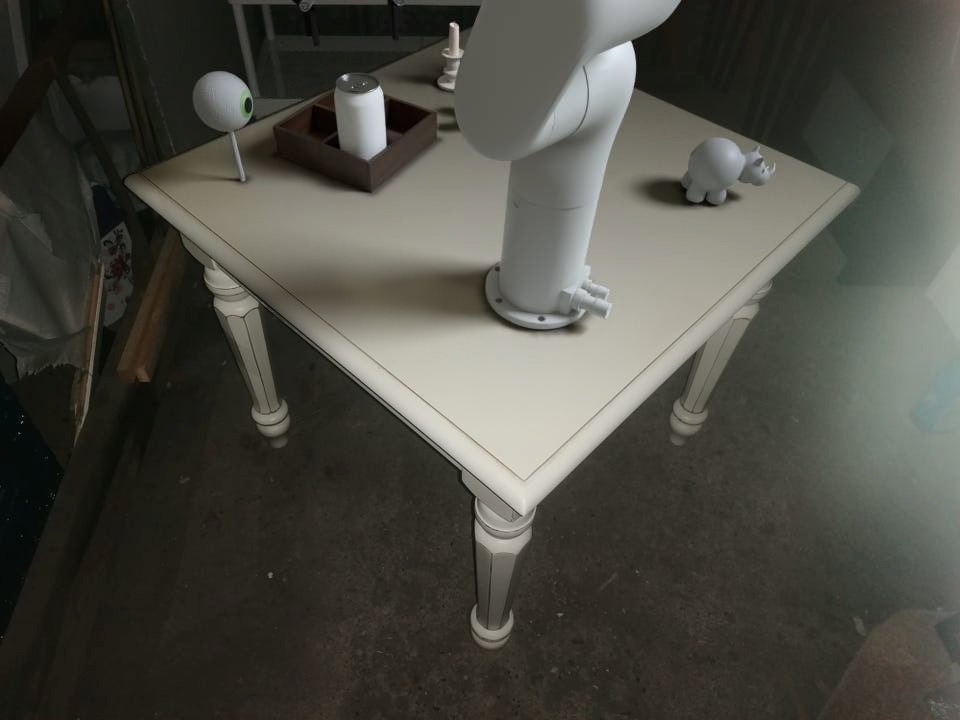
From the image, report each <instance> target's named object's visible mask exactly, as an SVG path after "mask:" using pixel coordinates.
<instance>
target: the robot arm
mask: <svg viewBox="0 0 960 720" xmlns="http://www.w3.org/2000/svg"><path fill="white" fill-rule="evenodd" d="M291 1H292V2H293V3H294V4H295V5H296V6H298V7H299V9H300V10H301V11H302V12H301V13H302V17H303V18H302V19H303V25H304V31H305V37H311V39H312V43H313V47H319V45H321V43H320V36H319V29H318V22H317V20H318V19H317V13H316V10H315V6H314V3H315V1H316V0H291ZM681 1H682V0H482V1H481V4H480V7H479V10H478V13H477V16H476V18H475V21H474V24H473V26H472V28H471V31H470V34H469V37H468V38H467V42H466V44H465V47H464V49H463V51H464V52H463V55H462V57H461V58H460V60H459V61H460V64H459V67H458V71H457V75H456V79H455V86H454V91H453V107H454V108H453V109H454V114H455V119H456V122H457V126H458V128H459V131H460V133H461V135H462V137H463V138H464V140H465V142H466V143H467V144H468V145H469V147H470V148H472V150H474V151H475V152H476V153H477V154H479V155H480V156H482V157H484V158H486V159H489V160H493V161H497V162H510V165H509V174H508V175H509V176H508V181H507V193H506V203H505V214H504V224H503V235H502V245H501V255H500V260H499V261H498V262H497V263H496V264H494V265H493V266H492V268H491V269H489V272H488V274H487V275H486V278H485V279H486V280H485V296H486V299H487V302H488V303H489V305H490V307H491V308H492V309H493V310H494V311H495V312H496V313H497V314H498V315H499V316H501V317H502V318H503V319H505V320H506V321H508V322H511V323H512V324H515V325H517V326H520V327H524V328H528V329H533V330H552V329H553V330H554V329H559V328H563V327H566V326H568V325H570V324H572V323H574V322H576V321H577V320H579V319H580V318H581V317H582V316H583V315H584V314H585V313H586V311H587V312H588V313H590V314H591V315H594V316H596V317H598V318H601V319H603V320H606V319H607V318H608V317H609V315H610V312H611V310H612V307H613V303H611V302H609V301H607V299H608V297H609V294H610V291H611V290H610V289H609V288H607V287H605V286H602V285H598V284H596V283H593V279H590V274H591V269H592V267H591V266H590V265H587V264H585V263H586V259H587V258H586V257H587V253H588V249H589V245H590V239H591V236H592V231H593V225H594V221H595V218H596V217H595V216H596V212H597V208H598V203H599V197H600V195H601V194H600V193H601V190H602V187H603V182H604V177H605V174H606V169H607V165H608V162H609V157H610V154H611V150H612V148H613V144H614V141H615V139H616V136H617V134H618V131H619V128H620V127H621V124H622V122H623V119H624V117H625V115H626V112H627V110H628V106H629V104H630V101H631V98H632V96H633V92H634V88H635V87H634V86H635V82H636V77H637V76H636V74H637V58H636V53H635V49H634V46H633V45H634V44H633V43H632V41H633V40H635V39H637V38H640V37H642V36H645V35H646V34H648V33H650V32H651V31H653V30H655V29H656V28H658V27H659V26H660V25H662V24H663V23H665V21H666V20H667V19H669V17H670V16H671V15H672V14H673V13H674V11H675V10H676V9H677V7H678V6H679V4H680V3H681ZM386 3H387V19H388V32H389V34H390V36H391V39H392V40H394V42H395V41H400V33H399V31H403V30H404V22H403V21H404V20H403V19H404V18H403V6H404V5H405V3H406V0H387V1H386Z"/></svg>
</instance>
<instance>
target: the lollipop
mask: <svg viewBox="0 0 960 720" xmlns="http://www.w3.org/2000/svg"><path fill="white" fill-rule="evenodd" d="M192 103H193V108H194V110H195V112H196V114H197V116H198V117H199V119H200V120H201V121H202V122H203V123H204V124H205V125H207V126H208V127H210V128H211V129H212V130H213V129H214V130H216V131H218V132H225V133H226V132H227V133H228V137H229V141H230V145H231V149H232V153H233V157H234V161H235V165H236V169H237V172H238V177H239V181H240V182H245V181H246V177H245V173H244V167H243V164H242V160H241V156H240V152H239V148H238V144H237V139H236V136H235V133H234V131H238V130H239V129H242V128H243V127H244V126H246V124H247V123H248V122H249V121H250V119H251V118H252V115H253V111H254V101H253V96H252V93H251V90H250V89H249V87H248V86H247V85H246V83H245V82H244V81H243V80H242V79H241V78H239V77H238V76H237V75H235V74H233V73H231V72H228V71H224V70H223V71H221V70H217V71H216V70H215V71H211V72H208V73H205V74H204V75H203V76H202V77H200V78H199V79H198V80H197V81H196V83H195V85H194V88H193V91H192Z"/></svg>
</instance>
